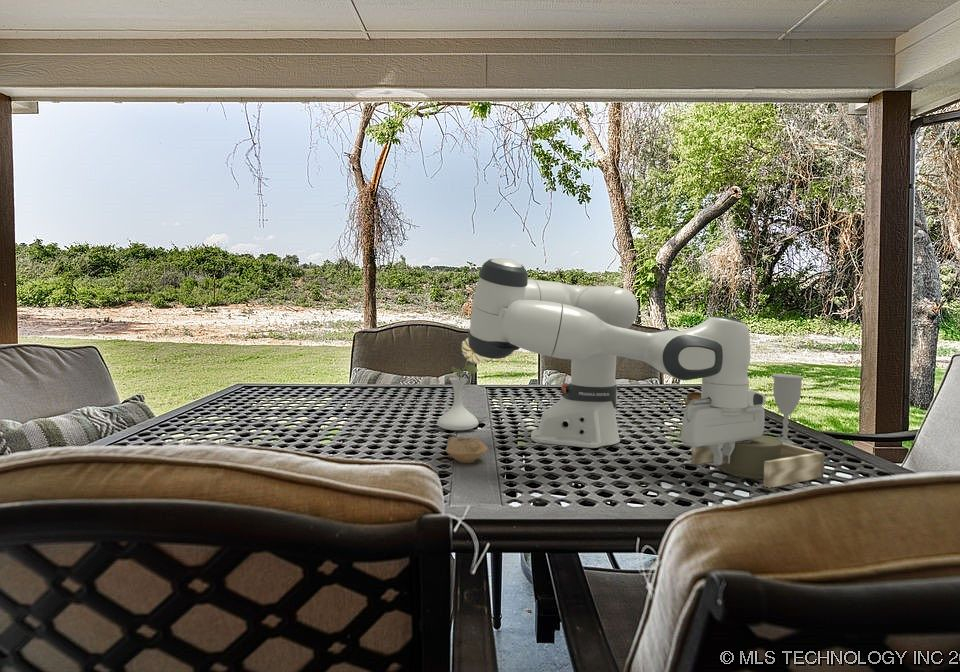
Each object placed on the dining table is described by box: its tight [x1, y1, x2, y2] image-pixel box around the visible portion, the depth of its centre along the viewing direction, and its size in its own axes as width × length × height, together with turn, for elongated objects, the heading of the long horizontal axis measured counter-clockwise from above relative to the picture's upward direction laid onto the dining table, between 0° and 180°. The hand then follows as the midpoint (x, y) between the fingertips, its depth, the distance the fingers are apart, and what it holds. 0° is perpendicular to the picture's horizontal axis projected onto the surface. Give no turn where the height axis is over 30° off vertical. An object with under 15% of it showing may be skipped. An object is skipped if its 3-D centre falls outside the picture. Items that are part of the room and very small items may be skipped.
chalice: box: [772, 373, 804, 446], centre depth 145 cm, size 7×7×18 cm
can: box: [719, 434, 782, 480], centre depth 127 cm, size 12×12×7 cm
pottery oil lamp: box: [445, 436, 488, 464], centre depth 133 cm, size 9×12×7 cm
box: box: [690, 443, 825, 489], centre depth 128 cm, size 17×19×5 cm
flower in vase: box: [436, 337, 485, 431], centre depth 163 cm, size 13×11×25 cm
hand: (721, 463), depth 123 cm, fingers closed
